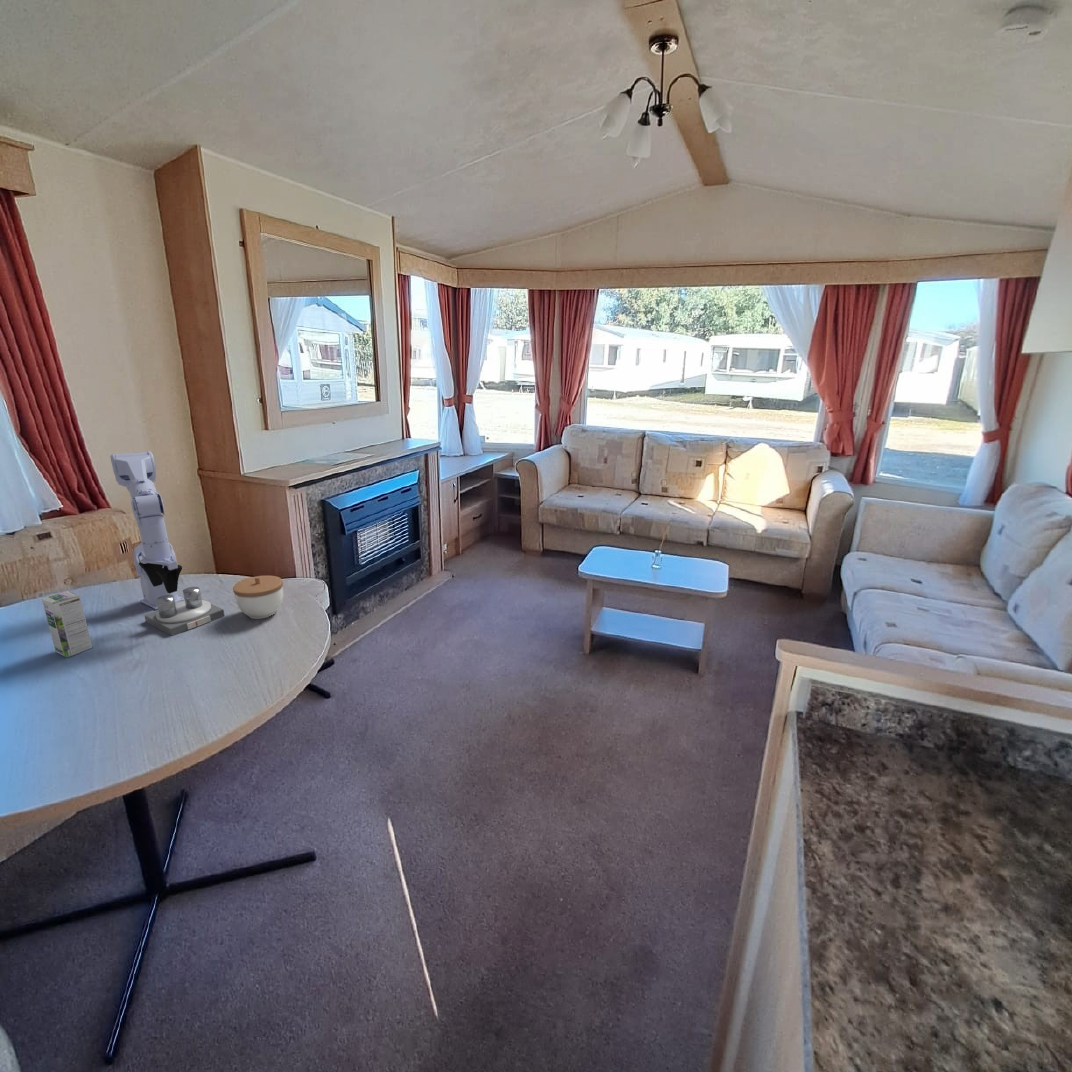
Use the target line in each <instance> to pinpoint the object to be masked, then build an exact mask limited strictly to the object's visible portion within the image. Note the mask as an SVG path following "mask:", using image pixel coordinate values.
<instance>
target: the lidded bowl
mask: <svg viewBox="0 0 1072 1072" xmlns="http://www.w3.org/2000/svg"><path fill="white" fill-rule="evenodd" d="M232 590H233V591H232V592H233V594H234V599H235V603H236V605H237V608H238V609H239V610H240V611H241V612H242V613H243V614H244V615H246V616H248V618H250V619H254V620H261V619H267V618H270V617H272V616H274V615H276V613H277V611H278V609H279V608H280V607H281V605H282V604H283V601H284V581H283V579H282V578H281V577H280V576H275V575H257V576H252V577H248V578H245V579H242V580H240V581H238V582H236V583H235V584H234V585H233V587H232ZM273 614H274V615H273ZM271 615H272V616H271ZM269 616H270V617H269Z"/></svg>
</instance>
